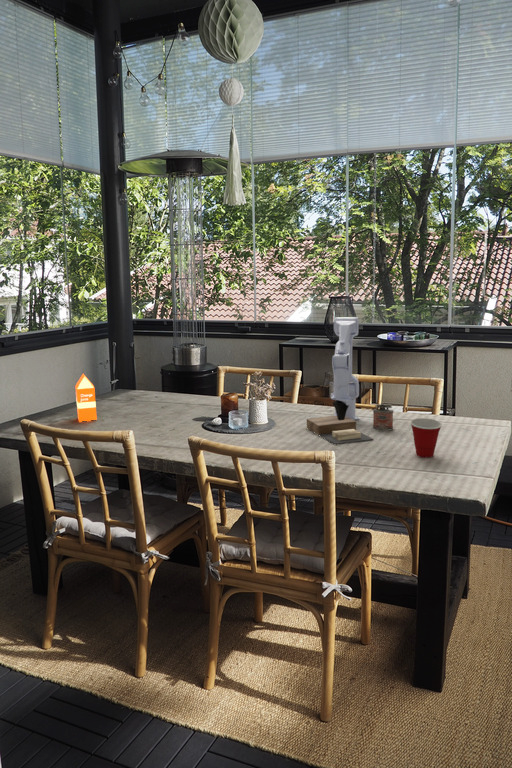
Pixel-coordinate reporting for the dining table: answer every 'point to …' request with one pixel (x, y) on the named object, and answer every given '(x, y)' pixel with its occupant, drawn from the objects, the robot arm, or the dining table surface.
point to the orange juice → (85, 400)
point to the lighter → (383, 417)
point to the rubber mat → (336, 441)
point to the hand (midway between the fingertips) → (341, 419)
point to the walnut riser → (330, 424)
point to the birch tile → (346, 434)
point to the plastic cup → (425, 435)
